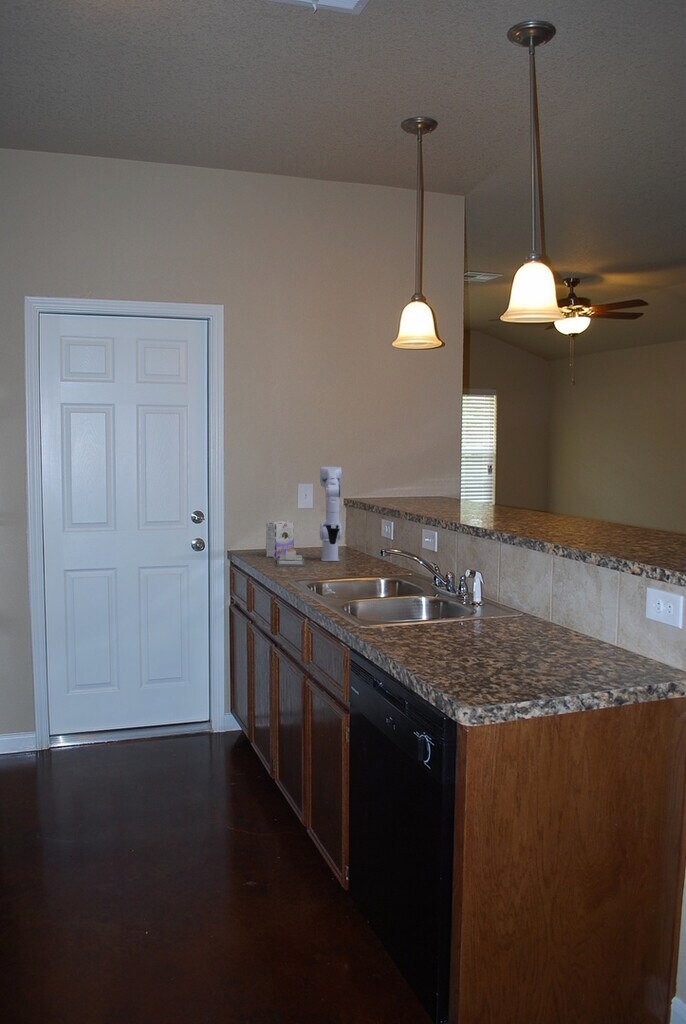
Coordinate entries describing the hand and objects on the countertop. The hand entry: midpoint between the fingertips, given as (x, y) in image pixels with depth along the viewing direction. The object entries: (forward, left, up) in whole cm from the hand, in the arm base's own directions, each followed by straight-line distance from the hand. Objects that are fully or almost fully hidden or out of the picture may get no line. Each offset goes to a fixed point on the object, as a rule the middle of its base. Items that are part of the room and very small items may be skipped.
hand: (332, 543), depth 349 cm
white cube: (-8, -18, -9) cm, 22 cm away
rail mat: (-5, -18, -10) cm, 21 cm away
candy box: (-26, -23, -10) cm, 36 cm away
